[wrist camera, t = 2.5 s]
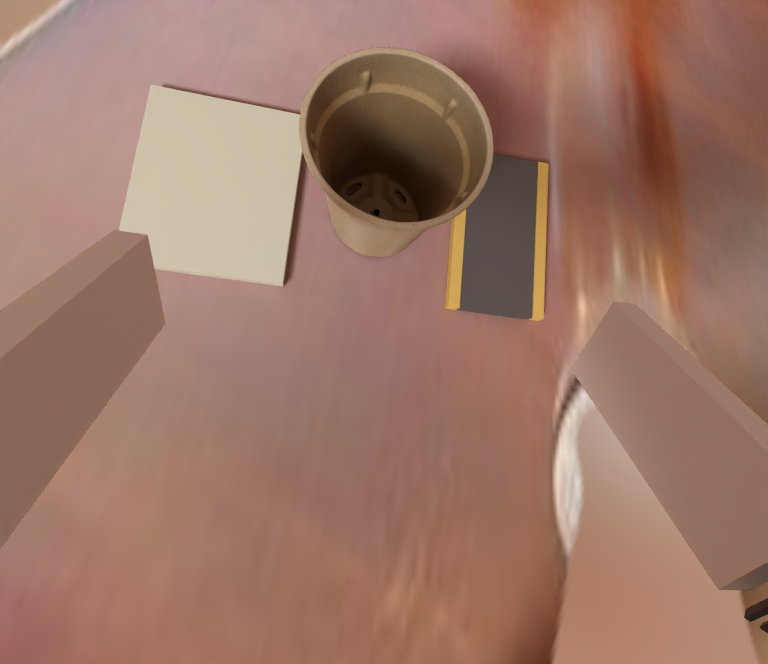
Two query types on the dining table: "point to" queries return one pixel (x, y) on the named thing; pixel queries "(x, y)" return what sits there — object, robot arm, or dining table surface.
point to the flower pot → (394, 146)
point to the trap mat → (502, 244)
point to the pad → (215, 186)
